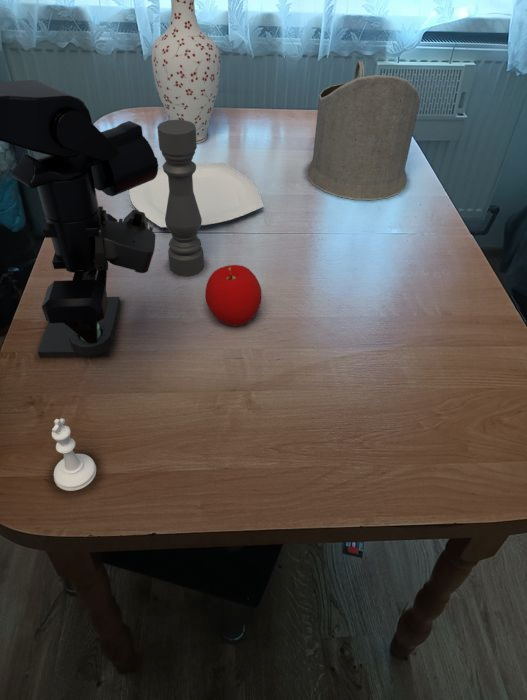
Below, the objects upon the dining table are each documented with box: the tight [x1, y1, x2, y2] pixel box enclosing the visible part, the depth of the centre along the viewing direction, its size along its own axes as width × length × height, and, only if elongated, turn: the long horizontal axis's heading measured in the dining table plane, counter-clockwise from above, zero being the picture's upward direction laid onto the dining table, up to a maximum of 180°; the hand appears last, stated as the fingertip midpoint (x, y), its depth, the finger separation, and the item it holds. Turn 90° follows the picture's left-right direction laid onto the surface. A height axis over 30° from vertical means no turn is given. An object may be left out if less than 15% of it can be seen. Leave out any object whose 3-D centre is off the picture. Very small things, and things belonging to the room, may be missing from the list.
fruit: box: [204, 264, 263, 327], centre depth 84 cm, size 9×9×10 cm
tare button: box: [80, 323, 101, 341], centre depth 79 cm, size 3×3×2 cm
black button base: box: [37, 296, 121, 359], centre depth 83 cm, size 14×10×3 cm
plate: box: [128, 162, 264, 229], centre depth 115 cm, size 27×27×2 cm
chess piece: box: [51, 417, 97, 492], centre depth 62 cm, size 5×5×10 cm
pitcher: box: [306, 60, 421, 201], centre depth 121 cm, size 23×32×25 cm
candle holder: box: [156, 120, 205, 277], centre depth 89 cm, size 6×6×25 cm
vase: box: [150, 0, 221, 144], centre depth 127 cm, size 16×16×35 cm
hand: (97, 318), depth 70 cm, fingers open, 9 cm apart
